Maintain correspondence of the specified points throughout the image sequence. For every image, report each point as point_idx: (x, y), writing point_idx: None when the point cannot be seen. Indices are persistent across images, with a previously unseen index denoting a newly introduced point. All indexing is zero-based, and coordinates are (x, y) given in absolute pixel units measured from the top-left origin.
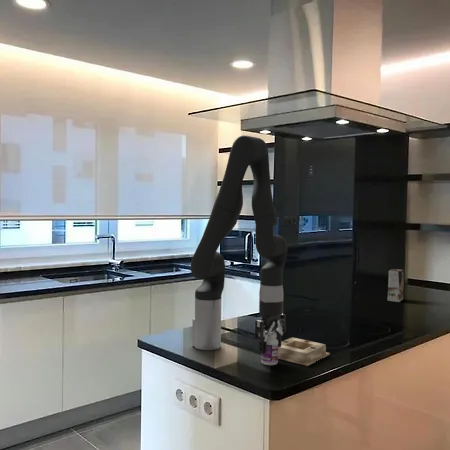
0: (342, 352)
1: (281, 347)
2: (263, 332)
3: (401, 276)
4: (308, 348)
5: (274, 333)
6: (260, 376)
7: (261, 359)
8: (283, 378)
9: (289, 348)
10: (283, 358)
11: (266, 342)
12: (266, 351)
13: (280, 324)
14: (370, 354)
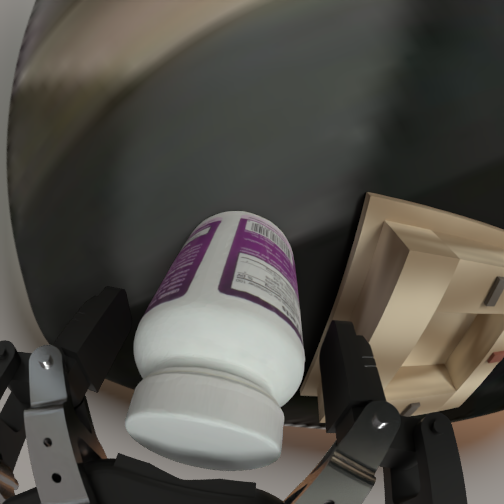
0: None
1: (382, 323)
2: (24, 440)
3: None
4: (401, 403)
5: (214, 467)
6: (71, 292)
7: (191, 234)
8: (122, 358)
9: (377, 360)
10: (335, 306)
11: (98, 386)
12: (127, 334)
13: (406, 501)
14: (455, 419)
